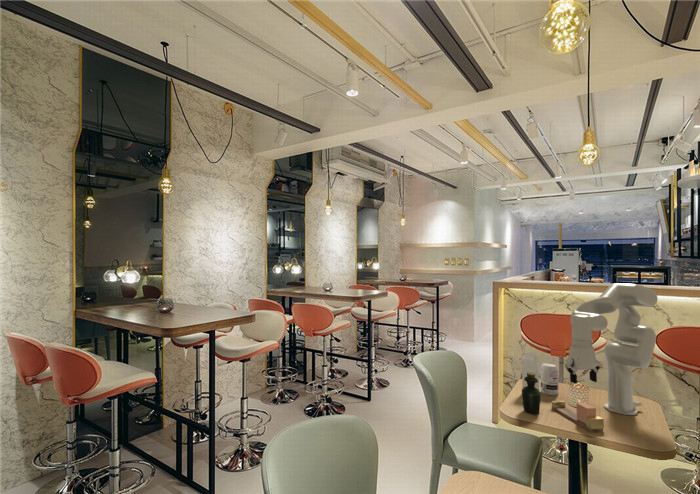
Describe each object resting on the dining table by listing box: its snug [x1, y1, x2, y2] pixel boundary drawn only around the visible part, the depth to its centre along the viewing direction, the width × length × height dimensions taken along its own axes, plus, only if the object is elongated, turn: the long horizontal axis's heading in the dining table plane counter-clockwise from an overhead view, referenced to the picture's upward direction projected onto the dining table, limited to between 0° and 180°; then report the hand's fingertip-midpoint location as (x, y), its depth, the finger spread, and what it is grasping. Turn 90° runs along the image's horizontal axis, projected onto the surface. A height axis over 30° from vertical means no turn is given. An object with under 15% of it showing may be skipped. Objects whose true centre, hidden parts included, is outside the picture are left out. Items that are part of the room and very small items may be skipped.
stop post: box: [586, 415, 605, 430], centre depth 148 cm, size 6×2×4 cm, turn 97°
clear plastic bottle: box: [521, 351, 540, 390], centre depth 189 cm, size 6×6×22 cm
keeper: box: [576, 402, 597, 424], centre depth 153 cm, size 4×6×7 cm, turn 7°
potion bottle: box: [521, 372, 542, 416], centre depth 166 cm, size 8×8×18 cm
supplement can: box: [540, 362, 559, 396], centre depth 190 cm, size 8×8×15 cm
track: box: [551, 400, 604, 433], centre depth 159 cm, size 6×23×4 cm, turn 7°
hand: (583, 381), depth 156 cm, fingers open, 9 cm apart
